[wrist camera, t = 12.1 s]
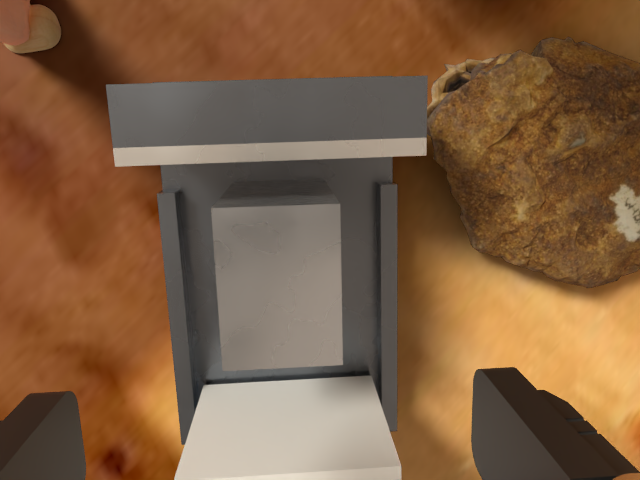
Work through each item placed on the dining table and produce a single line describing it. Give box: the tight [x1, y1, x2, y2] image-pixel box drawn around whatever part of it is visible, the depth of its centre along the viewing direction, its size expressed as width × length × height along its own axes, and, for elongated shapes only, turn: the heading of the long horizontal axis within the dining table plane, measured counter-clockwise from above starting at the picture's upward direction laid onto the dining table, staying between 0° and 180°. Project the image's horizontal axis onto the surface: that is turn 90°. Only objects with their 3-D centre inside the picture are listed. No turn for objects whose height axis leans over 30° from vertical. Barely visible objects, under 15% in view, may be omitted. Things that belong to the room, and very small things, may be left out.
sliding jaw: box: [174, 375, 401, 480], centre depth 25 cm, size 3×9×8 cm, turn 92°
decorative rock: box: [427, 37, 640, 288], centre depth 26 cm, size 11×4×15 cm
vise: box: [106, 76, 427, 445], centre depth 24 cm, size 18×11×9 cm, turn 2°
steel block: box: [211, 179, 343, 371], centre depth 23 cm, size 6×4×8 cm
